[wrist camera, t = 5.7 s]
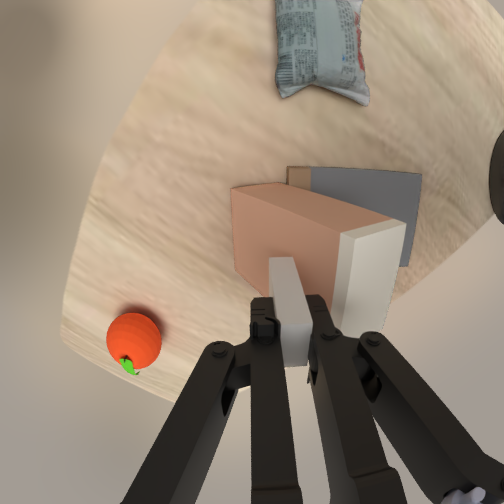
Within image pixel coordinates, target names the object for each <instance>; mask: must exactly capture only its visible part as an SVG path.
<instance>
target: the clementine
mask: <svg viewBox="0 0 504 504" xmlns="http://www.w3.org/2000/svg"><path fill="white" fill-rule="evenodd" d="M106 343H107V347H108V350H109V352H110V354H111V356H112V357H113V358H114V359H115V360H116V361H117V362H118V363H119V364H121V365H122V367H123V368H124V369H125V370H126V371H127V372H128V373H130V374H132V375H138V374H139V372H140V371H139V372H138V373H136V374H135V372H134V369H141V368H145V367H147V366H149V365H151V364H152V363H153V362H154V361H155V360H156V359H157V357H158V355H159V353H160V350H161V345H162V342H161V335H160V332H159V330H158V328H157V327H156V325H155V324H154V322H153V321H151V320H150V319H149V318H148V317H146V316H144V315H142V314H138V313H126V314H123V315H121V316H118V317H117V318H116V319H115V320H114V321H113V322H112V323H111V325H110V326H109V329H108V331H107V337H106Z"/></svg>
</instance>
